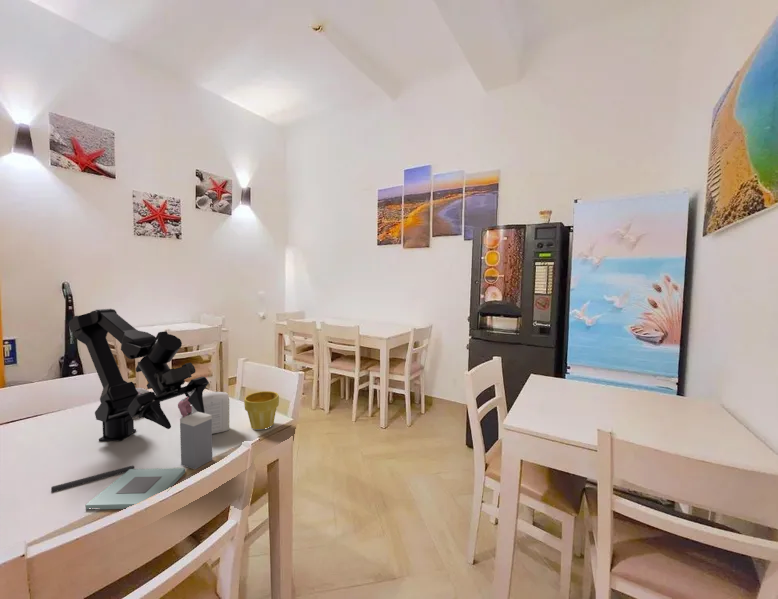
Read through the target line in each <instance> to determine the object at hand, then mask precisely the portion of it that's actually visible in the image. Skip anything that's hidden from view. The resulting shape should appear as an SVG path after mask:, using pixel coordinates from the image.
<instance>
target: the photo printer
mask: <svg viewBox="0 0 778 599" xmlns="http://www.w3.org/2000/svg"><path fill="white" fill-rule="evenodd" d="M202 396H203V405H204V411H205V414H209V415H212V435H213V434H217V433H223V432H227V431H229V430H230V396H229V394H228V392H225V391H210V392H206V393H203V394H202ZM191 406H192V405H191ZM196 412H197V410H196V409H195V408H194V407H193V406H192V412H191V414H193V413H196Z"/></svg>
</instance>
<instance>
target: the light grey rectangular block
mask: <svg viewBox="0 0 778 599" xmlns="http://www.w3.org/2000/svg"><path fill="white" fill-rule="evenodd" d="M179 428H180V429H179V430H180V435H179V436H180V466H183V467H185V468H186V467H187V468H189V469H192V470H196V469H199V468H200V467H202V466H203V465H206V464H207V463H209V462H211V461H213V434H212V415H209V414H205V413H201V412H196V413H193V414H192V413H190V414H189V415H188V414H187V416H186V417H183V416H182V417H181V418H180V419H179Z"/></svg>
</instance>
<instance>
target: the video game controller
mask: <svg viewBox="0 0 778 599" xmlns="http://www.w3.org/2000/svg"><path fill="white" fill-rule="evenodd" d="M188 399H189V397H186V396H185V397H184V398H182V399H180V401H179V402H177V408H178V410H179V412H180V414H181V416H182V418H183V417H186V416H188V414H192V405H191V404H190V402H189V401H188Z"/></svg>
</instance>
